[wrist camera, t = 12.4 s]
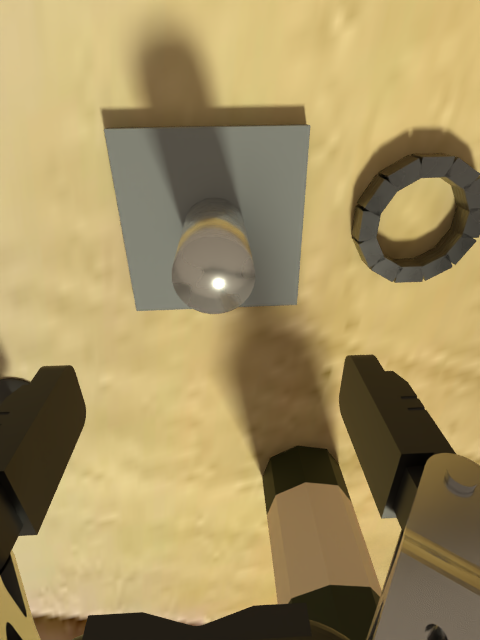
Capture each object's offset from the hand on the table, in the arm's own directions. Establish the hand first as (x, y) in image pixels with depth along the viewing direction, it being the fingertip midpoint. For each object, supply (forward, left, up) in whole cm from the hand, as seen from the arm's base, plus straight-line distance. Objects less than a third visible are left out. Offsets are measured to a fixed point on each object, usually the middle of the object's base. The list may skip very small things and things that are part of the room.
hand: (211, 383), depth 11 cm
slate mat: (0, 0, -17) cm, 17 cm away
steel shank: (0, 0, -16) cm, 16 cm away
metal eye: (-14, 0, -17) cm, 22 cm away
